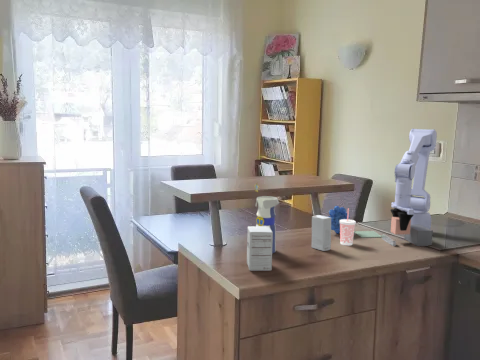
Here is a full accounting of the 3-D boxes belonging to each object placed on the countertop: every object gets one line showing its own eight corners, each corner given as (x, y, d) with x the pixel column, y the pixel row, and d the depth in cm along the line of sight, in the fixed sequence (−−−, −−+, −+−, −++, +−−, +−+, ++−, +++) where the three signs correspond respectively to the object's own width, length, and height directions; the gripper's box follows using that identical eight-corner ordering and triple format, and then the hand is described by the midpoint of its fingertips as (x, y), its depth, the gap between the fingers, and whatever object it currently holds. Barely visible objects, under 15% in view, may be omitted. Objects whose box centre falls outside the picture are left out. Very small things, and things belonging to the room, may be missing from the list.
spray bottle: (267, 256, 157) (269, 184, 153) (248, 250, 163) (250, 181, 159) (281, 251, 163) (284, 182, 159) (263, 246, 169) (265, 179, 165)
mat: (373, 231, 194) (374, 231, 194) (382, 237, 185) (382, 236, 185) (353, 231, 193) (353, 231, 193) (361, 237, 184) (361, 236, 184)
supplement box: (246, 263, 149) (247, 225, 147) (268, 263, 149) (269, 225, 148) (248, 271, 142) (249, 231, 140) (272, 270, 142) (273, 231, 140)
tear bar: (384, 239, 182) (384, 234, 182) (395, 246, 173) (395, 241, 172) (381, 239, 182) (382, 234, 182) (393, 246, 172) (393, 241, 172)
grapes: (333, 237, 183) (334, 208, 181) (323, 233, 189) (324, 205, 187) (355, 234, 188) (357, 206, 186) (345, 230, 194) (346, 203, 192)
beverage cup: (334, 242, 176) (336, 207, 174) (346, 240, 179) (348, 206, 177) (345, 246, 170) (347, 210, 168) (357, 244, 173) (360, 209, 171)
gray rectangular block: (418, 238, 184) (419, 224, 183) (431, 245, 174) (432, 230, 173) (404, 238, 183) (405, 224, 183) (416, 245, 174) (417, 230, 173)
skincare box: (331, 249, 166) (332, 217, 165) (323, 251, 163) (324, 219, 162) (318, 245, 171) (319, 214, 169) (310, 247, 168) (311, 215, 166)
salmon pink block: (405, 231, 180) (406, 216, 179) (409, 234, 176) (411, 219, 175) (390, 231, 179) (391, 216, 178) (395, 234, 175) (396, 219, 174)
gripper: (385, 191, 182) (382, 224, 184) (401, 198, 168) (399, 233, 170) (401, 191, 183) (399, 224, 185) (420, 198, 168) (417, 233, 170)
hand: (400, 228), depth 177 cm, fingers closed on salmon pink block, 4 cm apart
